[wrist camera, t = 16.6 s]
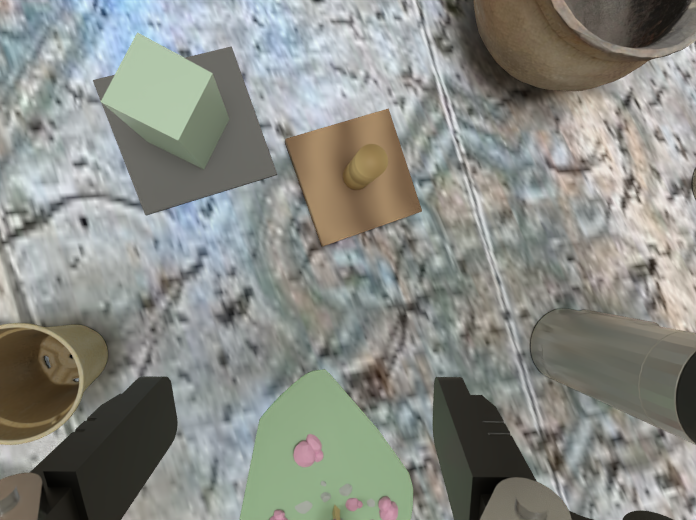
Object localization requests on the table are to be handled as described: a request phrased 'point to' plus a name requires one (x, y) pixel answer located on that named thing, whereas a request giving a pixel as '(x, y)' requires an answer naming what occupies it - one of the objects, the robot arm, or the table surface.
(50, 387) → the flower pot
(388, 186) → the peg stand
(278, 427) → the plant
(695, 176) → the thermos bottle
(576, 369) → the robot arm
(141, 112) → the sage green tall block
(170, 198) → the mat
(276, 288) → the table surface
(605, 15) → the ceramic bowl
